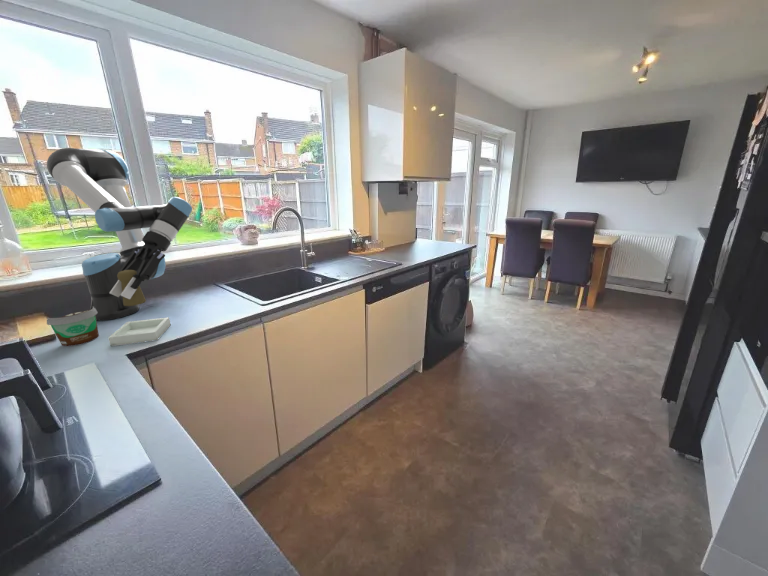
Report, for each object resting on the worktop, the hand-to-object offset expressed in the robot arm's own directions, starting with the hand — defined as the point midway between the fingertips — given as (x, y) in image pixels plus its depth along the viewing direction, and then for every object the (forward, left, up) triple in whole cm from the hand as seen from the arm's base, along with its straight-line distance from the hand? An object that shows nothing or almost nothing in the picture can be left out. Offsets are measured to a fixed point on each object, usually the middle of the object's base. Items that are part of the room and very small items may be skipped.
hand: (119, 296), depth 102 cm
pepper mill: (-3, +2, -4) cm, 5 cm away
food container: (-3, -15, -15) cm, 22 cm away
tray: (-3, +2, -15) cm, 15 cm away
